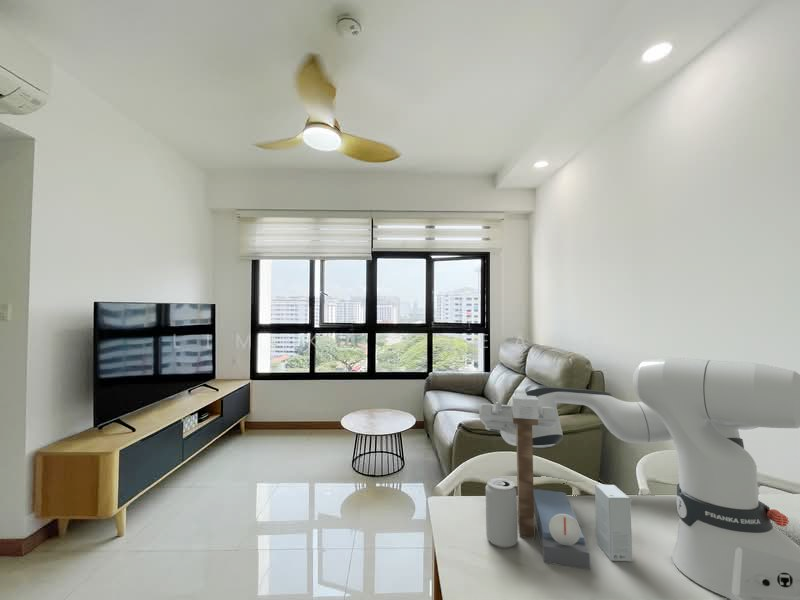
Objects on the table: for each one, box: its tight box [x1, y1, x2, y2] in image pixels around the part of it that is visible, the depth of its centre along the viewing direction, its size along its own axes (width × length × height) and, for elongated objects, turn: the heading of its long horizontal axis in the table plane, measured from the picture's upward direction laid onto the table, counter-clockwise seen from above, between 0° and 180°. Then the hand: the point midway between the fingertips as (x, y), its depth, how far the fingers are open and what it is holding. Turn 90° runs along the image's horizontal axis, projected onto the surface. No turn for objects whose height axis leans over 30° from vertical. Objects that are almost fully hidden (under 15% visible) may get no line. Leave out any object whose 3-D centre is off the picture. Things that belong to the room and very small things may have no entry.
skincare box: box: [594, 483, 633, 562], centre depth 72 cm, size 6×4×12 cm
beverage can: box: [485, 476, 519, 549], centre depth 76 cm, size 6×6×12 cm
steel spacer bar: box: [511, 389, 539, 420], centre depth 84 cm, size 5×18×4 cm, turn 165°
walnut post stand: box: [511, 407, 538, 539], centre depth 79 cm, size 5×9×26 cm, turn 165°
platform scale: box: [533, 488, 591, 571], centre depth 79 cm, size 8×22×9 cm, turn 165°
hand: (517, 406), depth 93 cm, fingers open, 8 cm apart
